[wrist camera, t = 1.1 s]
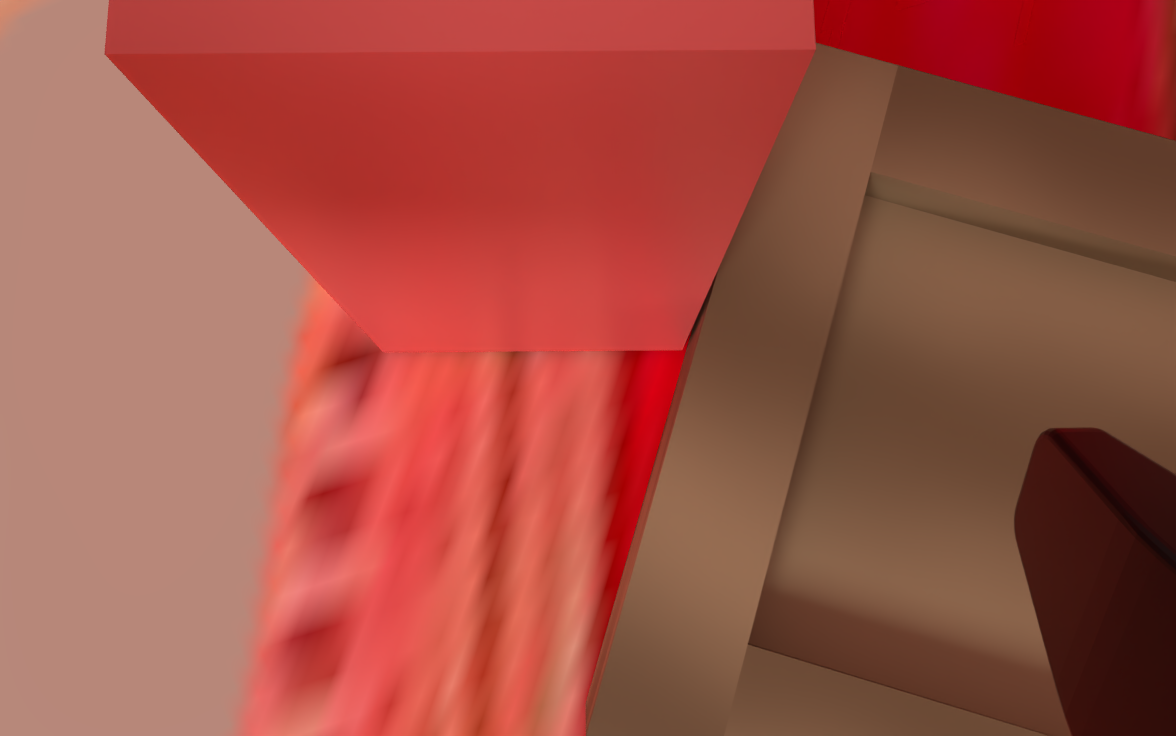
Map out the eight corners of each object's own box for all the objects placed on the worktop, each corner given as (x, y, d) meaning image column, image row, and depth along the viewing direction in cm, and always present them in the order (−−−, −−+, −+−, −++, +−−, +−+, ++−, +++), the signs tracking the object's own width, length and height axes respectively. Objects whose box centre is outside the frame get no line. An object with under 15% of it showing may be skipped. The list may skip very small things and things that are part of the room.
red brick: (682, 350, 21) (815, 49, 9) (383, 352, 21) (105, 53, 9) (675, 72, 22) (784, -535, 10) (391, 74, 22) (153, -533, 10)
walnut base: (1215, 897, 19) (1376, 982, 15) (585, 703, 20) (586, 736, 16) (1319, 288, 21) (1485, 225, 17) (749, 129, 22) (784, 34, 18)
